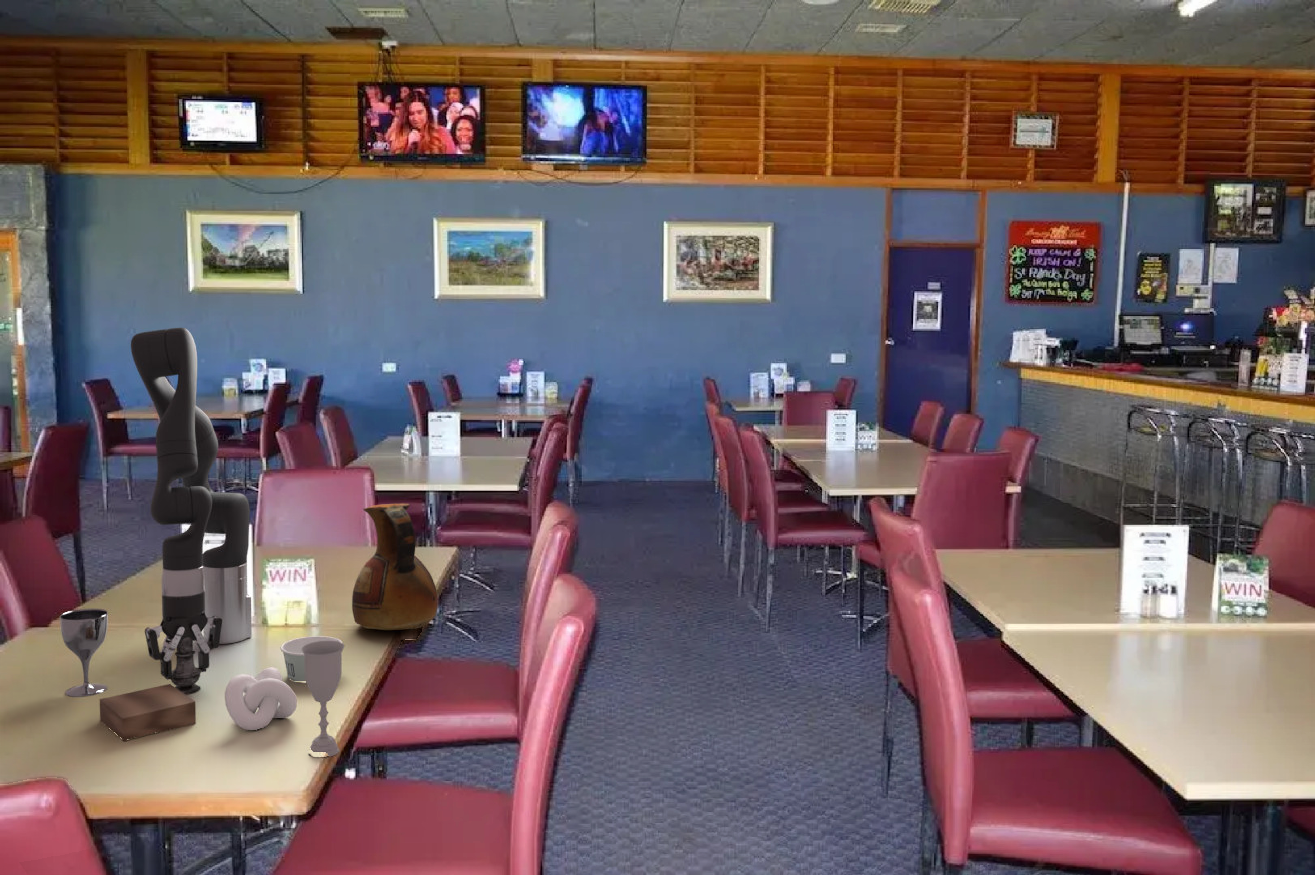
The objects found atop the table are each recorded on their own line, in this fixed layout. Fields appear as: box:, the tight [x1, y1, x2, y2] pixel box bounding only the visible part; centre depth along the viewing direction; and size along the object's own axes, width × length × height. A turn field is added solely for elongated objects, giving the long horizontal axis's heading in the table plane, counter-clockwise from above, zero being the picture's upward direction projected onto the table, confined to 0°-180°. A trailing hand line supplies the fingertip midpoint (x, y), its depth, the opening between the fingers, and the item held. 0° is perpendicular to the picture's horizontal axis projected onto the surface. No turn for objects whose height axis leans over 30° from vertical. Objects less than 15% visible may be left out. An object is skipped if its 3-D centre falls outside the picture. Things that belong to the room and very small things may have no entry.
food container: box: [279, 635, 343, 681], centre depth 207 cm, size 12×12×6 cm
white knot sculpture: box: [224, 666, 298, 731], centre depth 182 cm, size 11×12×9 cm
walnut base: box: [99, 683, 197, 741], centre depth 181 cm, size 12×12×4 cm
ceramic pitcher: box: [351, 503, 439, 631], centre depth 240 cm, size 20×20×30 cm
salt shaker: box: [170, 637, 203, 695], centre depth 197 cm, size 6×6×12 cm
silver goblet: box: [59, 608, 109, 698], centre depth 195 cm, size 8×8×15 cm
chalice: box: [301, 641, 345, 758], centre depth 170 cm, size 7×7×18 cm
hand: (185, 674), depth 197 cm, fingers closed on salt shaker, 6 cm apart
